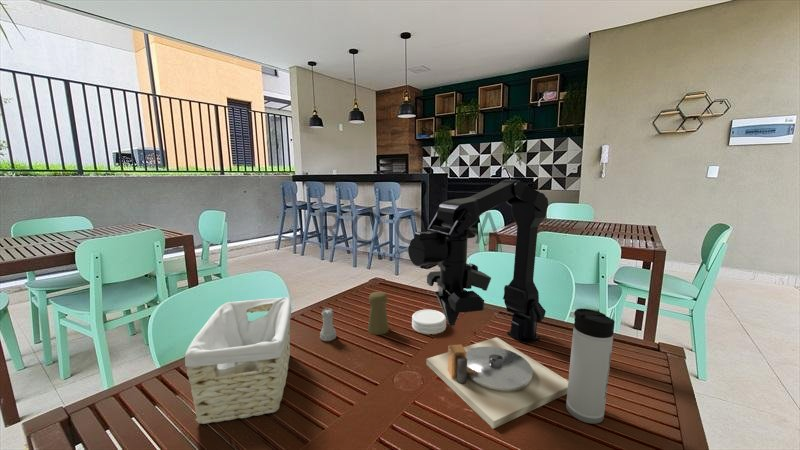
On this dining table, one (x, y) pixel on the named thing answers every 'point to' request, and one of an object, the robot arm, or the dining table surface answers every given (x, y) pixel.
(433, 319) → the coaster
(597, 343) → the travel mug
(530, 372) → the flange plate
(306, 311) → the dining table surface
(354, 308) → the dining table surface
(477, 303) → the robot arm
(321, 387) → the dining table surface
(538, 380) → the birch base board
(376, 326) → the cork
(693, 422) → the dining table surface
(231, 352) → the storage basket
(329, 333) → the white chess piece
